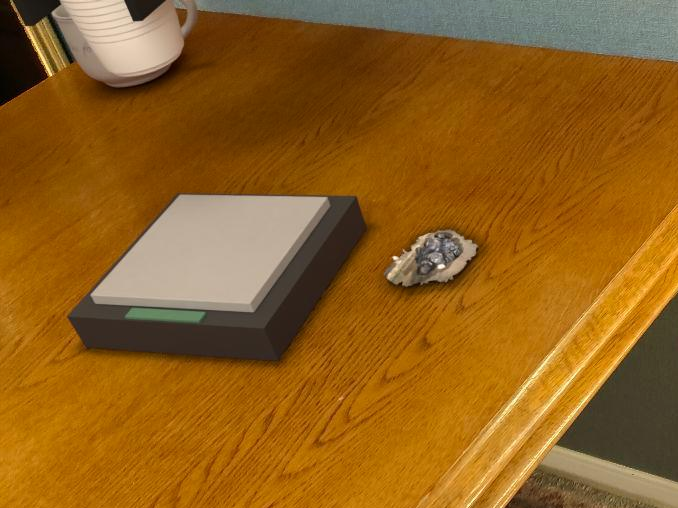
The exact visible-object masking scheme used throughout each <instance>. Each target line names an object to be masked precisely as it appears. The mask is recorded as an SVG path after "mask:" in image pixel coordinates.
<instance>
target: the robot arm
mask: <svg viewBox="0 0 678 508" xmlns="http://www.w3.org/2000/svg"><path fill="white" fill-rule="evenodd" d="M11 1H12V4H13V5H14V7H15V9H16V11H17V13H18V15H19V17H20V19H21V21H22V23H23V25H24V26H25V27H35V26H36V25H37V24H39V23H40V22H41V21H42V20H44V19H45V18H46V17H48V16H49V15H50V14H52V12H53V11H54V10H55V9H56V8H58V7H59V6H60V5H62V4H61V2H60V0H11ZM124 1H125V4H126V6H127V8H128V11H129V13H130V15H131V18H132V20H133V21H143V20H144V19H145V18H146V17H148V16H149V15H150V14H151V13H152V12H153V11H154V10H156V9H157V8H158V7H159V6H160V5H161V4H162V3H164V2H165V1H166V0H124Z"/></svg>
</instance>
